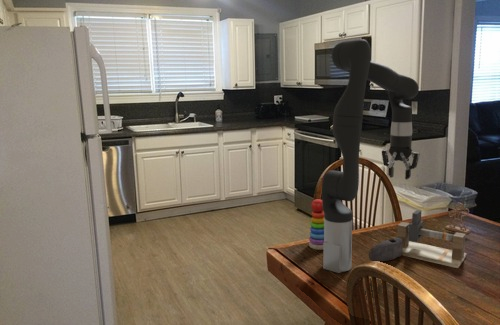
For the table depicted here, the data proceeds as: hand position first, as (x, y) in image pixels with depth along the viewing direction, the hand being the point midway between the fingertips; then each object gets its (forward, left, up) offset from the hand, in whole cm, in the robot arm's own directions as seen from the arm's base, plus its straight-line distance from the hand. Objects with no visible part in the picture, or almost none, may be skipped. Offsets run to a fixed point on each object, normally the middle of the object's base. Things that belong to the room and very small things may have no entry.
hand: (399, 177), depth 162 cm
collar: (-6, -9, -21) cm, 23 cm away
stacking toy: (-22, +22, -26) cm, 40 cm away
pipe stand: (-6, -14, -25) cm, 30 cm away
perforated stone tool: (-19, -3, -26) cm, 32 cm away
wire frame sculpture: (+26, -16, -26) cm, 40 cm away
